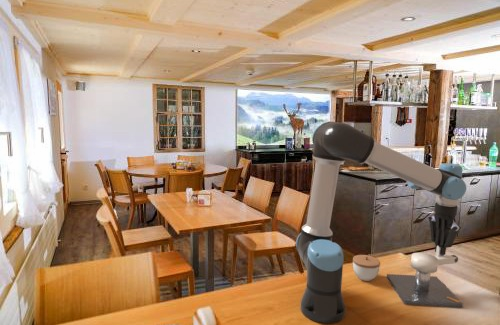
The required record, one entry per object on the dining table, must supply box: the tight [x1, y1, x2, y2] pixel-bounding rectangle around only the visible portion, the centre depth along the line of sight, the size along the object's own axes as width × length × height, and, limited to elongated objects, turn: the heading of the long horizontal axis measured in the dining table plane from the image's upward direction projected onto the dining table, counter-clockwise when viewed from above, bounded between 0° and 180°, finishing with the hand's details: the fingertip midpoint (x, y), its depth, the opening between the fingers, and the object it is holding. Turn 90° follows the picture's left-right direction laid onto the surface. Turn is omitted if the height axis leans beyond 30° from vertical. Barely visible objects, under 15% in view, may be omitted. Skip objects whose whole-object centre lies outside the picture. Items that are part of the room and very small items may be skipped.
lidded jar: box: [352, 254, 381, 282], centre depth 140 cm, size 11×11×9 cm
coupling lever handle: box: [410, 252, 459, 274], centre depth 130 cm, size 20×9×4 cm, turn 105°
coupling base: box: [386, 270, 464, 308], centre depth 129 cm, size 20×20×10 cm
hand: (438, 261), depth 133 cm, fingers closed
